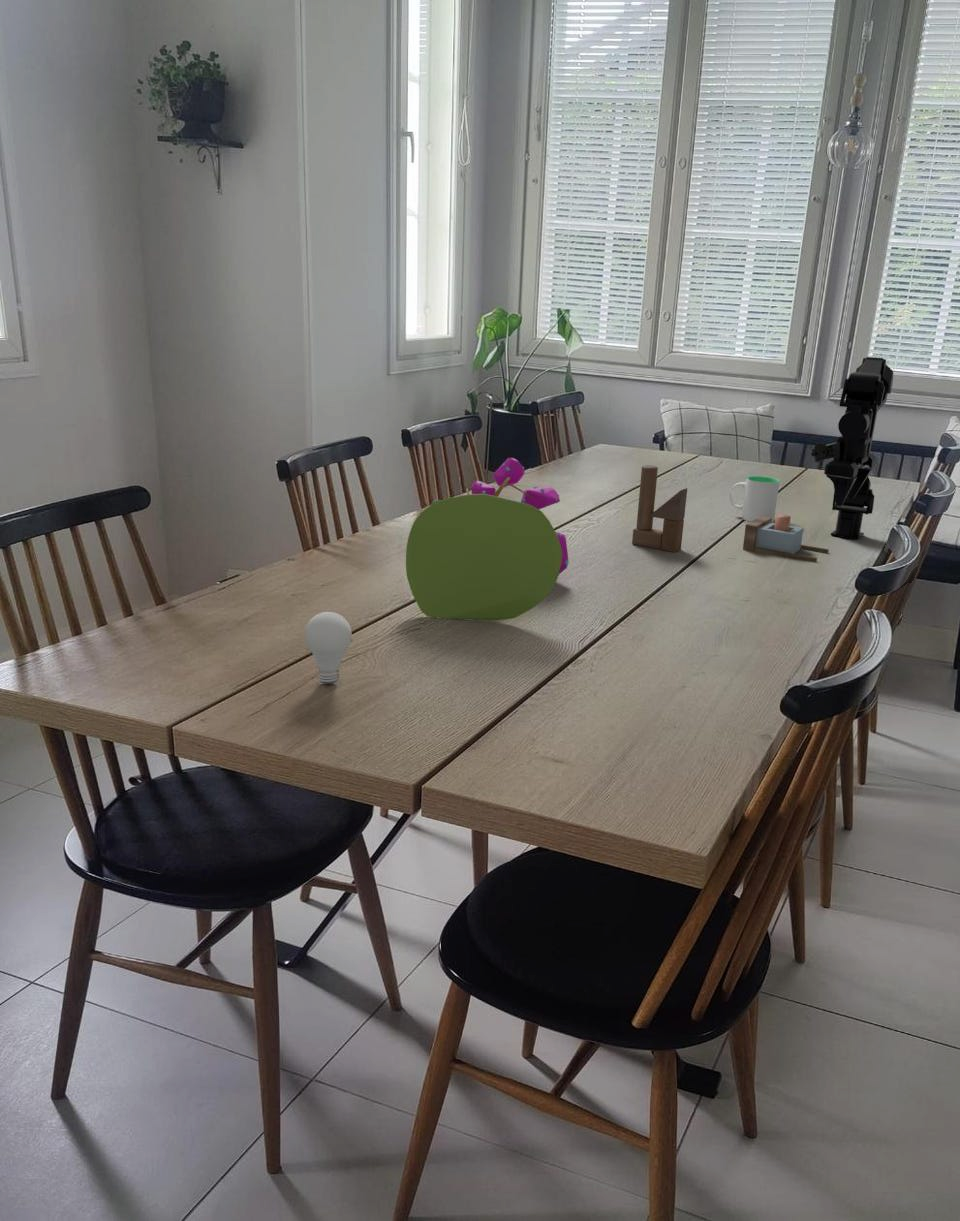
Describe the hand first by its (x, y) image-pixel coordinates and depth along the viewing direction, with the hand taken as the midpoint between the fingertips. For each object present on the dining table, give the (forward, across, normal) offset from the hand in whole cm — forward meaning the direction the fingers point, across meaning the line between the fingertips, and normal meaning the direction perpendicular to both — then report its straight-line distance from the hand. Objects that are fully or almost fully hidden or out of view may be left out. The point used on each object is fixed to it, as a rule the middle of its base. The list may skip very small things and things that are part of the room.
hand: (845, 502), depth 226 cm
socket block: (+12, +8, -11) cm, 18 cm away
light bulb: (+10, +131, -35) cm, 136 cm away
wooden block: (+12, +25, -34) cm, 43 cm away
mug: (+12, -20, -28) cm, 36 cm away
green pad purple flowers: (+11, +77, -43) cm, 89 cm away
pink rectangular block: (+11, +8, -11) cm, 17 cm away
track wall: (+12, +8, -9) cm, 17 cm away
